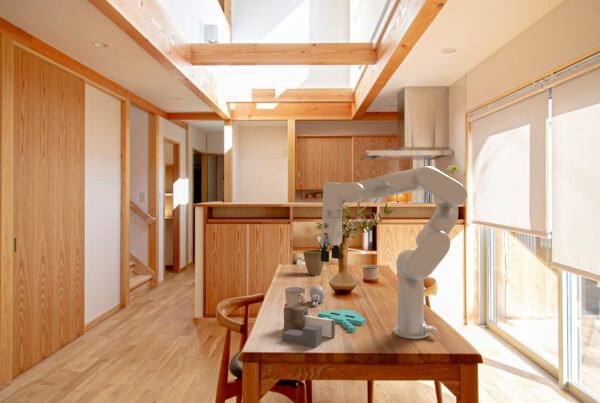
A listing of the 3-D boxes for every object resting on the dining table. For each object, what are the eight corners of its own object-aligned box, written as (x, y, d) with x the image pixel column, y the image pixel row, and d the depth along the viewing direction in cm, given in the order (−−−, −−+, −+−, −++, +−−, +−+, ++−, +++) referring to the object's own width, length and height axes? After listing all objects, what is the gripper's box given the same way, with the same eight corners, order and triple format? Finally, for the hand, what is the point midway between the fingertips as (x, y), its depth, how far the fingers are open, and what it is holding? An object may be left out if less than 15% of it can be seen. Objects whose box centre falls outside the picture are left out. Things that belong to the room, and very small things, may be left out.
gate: (335, 335, 140) (335, 319, 140) (333, 337, 139) (333, 320, 139) (304, 330, 146) (304, 314, 146) (302, 331, 144) (302, 316, 144)
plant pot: (315, 271, 262) (315, 248, 262) (330, 275, 251) (330, 251, 250) (298, 274, 252) (298, 250, 252) (313, 278, 241) (313, 253, 241)
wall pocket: (308, 330, 147) (308, 306, 147) (302, 334, 142) (302, 310, 142) (290, 327, 150) (290, 304, 150) (283, 331, 146) (283, 307, 146)
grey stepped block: (321, 342, 135) (321, 326, 134) (315, 347, 130) (315, 330, 130) (289, 336, 140) (289, 320, 140) (282, 341, 136) (282, 324, 136)
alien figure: (353, 333, 145) (371, 319, 162) (353, 328, 145) (371, 314, 162) (307, 324, 155) (329, 311, 172) (307, 319, 155) (329, 307, 172)
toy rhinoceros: (307, 311, 180) (305, 296, 177) (312, 296, 190) (310, 281, 187) (321, 312, 178) (320, 297, 175) (326, 297, 189) (324, 282, 185)
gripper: (331, 216, 134) (329, 264, 134) (349, 214, 149) (347, 258, 149) (312, 214, 138) (311, 261, 138) (332, 213, 153) (330, 256, 153)
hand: (330, 259), depth 144 cm, fingers open, 9 cm apart
